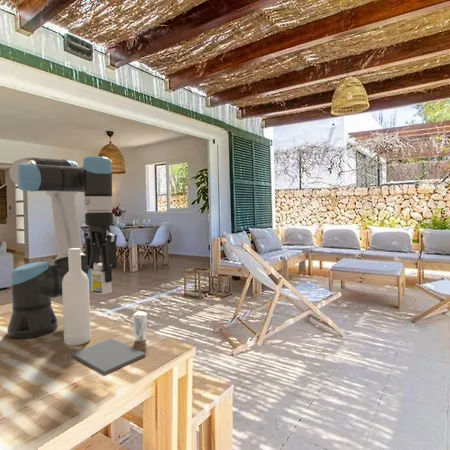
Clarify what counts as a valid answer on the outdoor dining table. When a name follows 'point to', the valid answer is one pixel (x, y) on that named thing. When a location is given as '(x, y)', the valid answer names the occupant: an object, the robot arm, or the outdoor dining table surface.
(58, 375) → the outdoor dining table surface
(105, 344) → the slate mat
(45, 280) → the robot arm
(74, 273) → the bottle
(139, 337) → the milkshake
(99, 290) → the supplement bottle
